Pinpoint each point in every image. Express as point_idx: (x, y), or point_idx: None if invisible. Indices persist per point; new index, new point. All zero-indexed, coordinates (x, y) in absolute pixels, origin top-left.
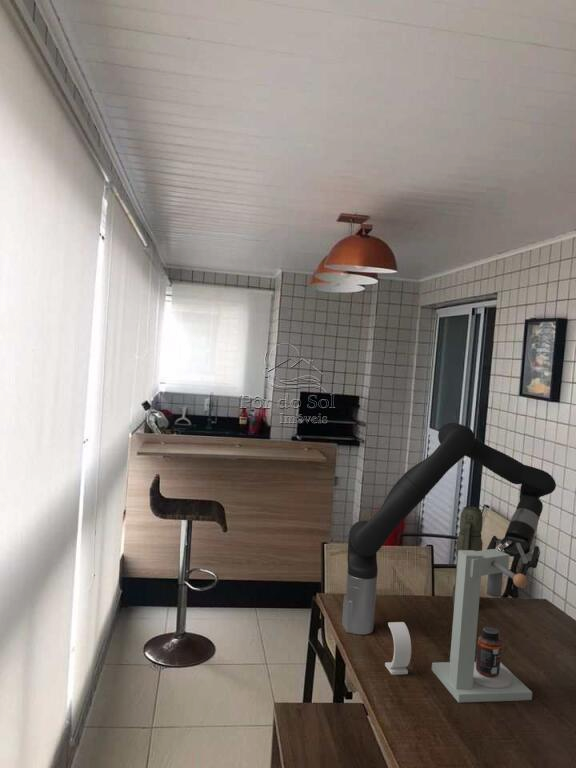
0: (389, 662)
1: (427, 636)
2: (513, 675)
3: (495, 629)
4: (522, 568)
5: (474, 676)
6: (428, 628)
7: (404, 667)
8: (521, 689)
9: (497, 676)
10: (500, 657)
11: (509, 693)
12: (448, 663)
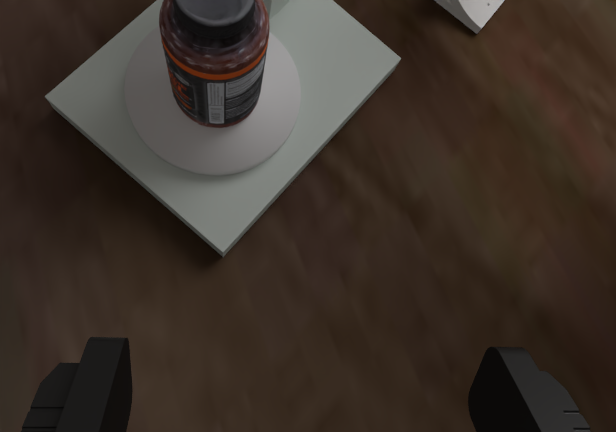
0: (501, 1)
1: (538, 309)
2: (139, 173)
3: (197, 14)
4: (68, 419)
5: None
6: (577, 388)
7: (453, 4)
8: (84, 88)
9: None
10: (166, 62)
11: (114, 38)
12: (359, 91)
